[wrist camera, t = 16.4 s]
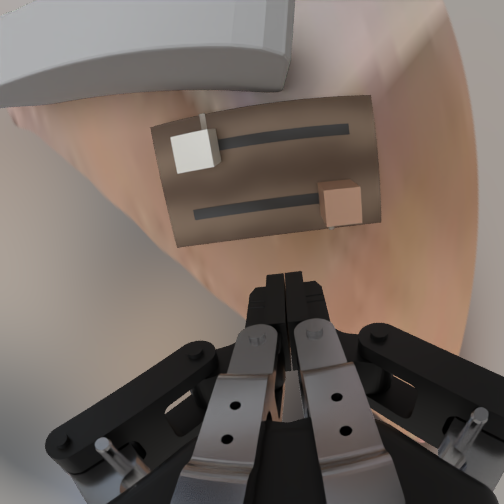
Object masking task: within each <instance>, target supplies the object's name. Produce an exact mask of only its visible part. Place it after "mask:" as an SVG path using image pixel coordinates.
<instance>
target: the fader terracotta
mask: <svg viewBox="0 0 504 504" xmlns="http://www.w3.org/2000/svg"><path fill="white" fill-rule="evenodd" d="M317 184H318V193H319V203H320V213H321V217H322V219H323V220H324V222H325V224H326V226H327V227H332V226H341V225H349V224H358V223H362V203H361V188H360V186H359V185H357V184H356V183H355V182H353V181H352V180H350V179H346V180H336V181H327V182H317Z"/></svg>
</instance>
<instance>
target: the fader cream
mask: <svg viewBox="0 0 504 504" xmlns="http://www.w3.org/2000/svg"><path fill="white" fill-rule="evenodd" d="M170 139H171V144H172V149H173V154H174V159H175V164H176V169H177V174H179V173H184V172H189V171H195V170H200V169H205V168H211V167H215V166H216V165H218V164H219V163H220V162H221V156H220V151H219V145H218V140H217V134H216V129H206V130H201V131H196V132H191V133H187V134H182V135H178V136H174V137H170Z"/></svg>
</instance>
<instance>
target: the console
mask: <svg viewBox="0 0 504 504" xmlns="http://www.w3.org/2000/svg"><path fill="white" fill-rule="evenodd" d="M150 128H151V134H152V139H153V144H154V149H155V154H156V159H157V164H158V168H159V173H160V178H161V182H162V187H163V191H164V196H165V200H166V204H167V209H168V213H169V217H170V221H171V225H172V229H173V233H174V237H175V241H176V245H177V248H179V247H186V246H193V245H201V244H208V243H216V242H224V241H231V240H239V239H247V238H255V237H263V236H271V235H279V234H287V233H295V232H303V231H311V230H320V229H328V228H329V230H331V229H334V228H337V227H345V226H354V225H362V224H371V223H380V222H381V196H380V177H379V163H378V151H377V140H376V131H375V122H374V114H373V107H372V100H371V95H360V96H338V97H323V98H311V99H300V100H291V101H282V102H274V103H267V104H260V105H253V106H247V107H241V108H235V109H229V110H224V111H219V112H214V113H209V114H205V113H203V114H199V116H195V117H190V118H186V119H181V120H177V121H173V122H169V123H165V124H161V125H158V126H154V127H150ZM206 129H216V134H217V140H218V145H219V151H220V156H221V162H220V163H219V164H218V165H216V166H215V167H211V168H205V169H200V170H195V171H189V172H184V173H179V174H177V169H176V164H175V159H174V154H173V149H172V144H171V139H170V137H174V136H178V135H182V134H187V133H191V132H196V131H201V130H206ZM346 179H350V180H352V181H353V182H355V183H356V184H357V185H359V186H360V188H361V203H362V223H358V224H349V225H341V226H332V227H327V226H326V224H325V222H324V220H323V219H322V217H321V213H320V203H319V193H318V184H317V182H327V181H336V180H346Z"/></svg>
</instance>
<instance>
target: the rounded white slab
mask: <svg viewBox="0 0 504 504" xmlns="http://www.w3.org/2000/svg"><path fill="white" fill-rule="evenodd" d="M294 8H295V0H35V1H33V2H31V3H29V4H26V5H24V6H22V7H20V8H18V9H16V10H15V11H11V12H8V13H5V14H3V15H2V16H0V108H6V107H20V106H37V105H47V104H54V103H60V102H66V101H72V100H78V99H84V98H91V97H98V96H106V95H115V94H124V93H136V92H149V91H169V90H232V91H252V92H279V91H282V90H283V87H284V83H285V80H286V76H287V72H288V69H289V65H290V61H291V51H292V37H293V23H294Z"/></svg>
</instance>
